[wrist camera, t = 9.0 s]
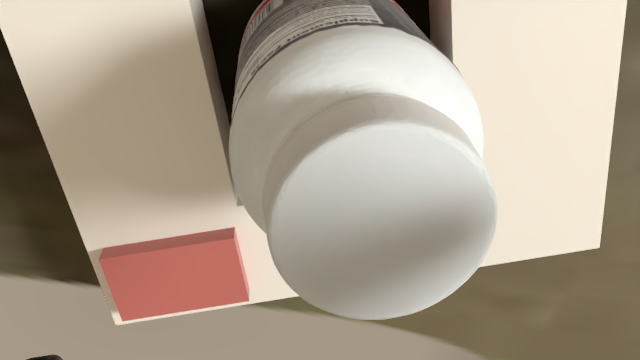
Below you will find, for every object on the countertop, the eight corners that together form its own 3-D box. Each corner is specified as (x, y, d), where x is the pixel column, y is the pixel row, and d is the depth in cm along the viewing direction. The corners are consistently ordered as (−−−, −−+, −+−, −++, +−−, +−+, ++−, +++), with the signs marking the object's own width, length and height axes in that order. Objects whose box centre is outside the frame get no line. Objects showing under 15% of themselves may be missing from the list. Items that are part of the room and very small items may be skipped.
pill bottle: (435, 97, 20) (570, 287, 11) (285, 163, 20) (304, 390, 12) (375, -66, 17) (488, 18, 9) (206, 16, 18) (157, 169, 9)
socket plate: (566, 208, 22) (608, 258, 20) (130, 277, 22) (111, 338, 19) (601, -258, 15) (674, -280, 13) (-27, -164, 15) (-90, -166, 13)
